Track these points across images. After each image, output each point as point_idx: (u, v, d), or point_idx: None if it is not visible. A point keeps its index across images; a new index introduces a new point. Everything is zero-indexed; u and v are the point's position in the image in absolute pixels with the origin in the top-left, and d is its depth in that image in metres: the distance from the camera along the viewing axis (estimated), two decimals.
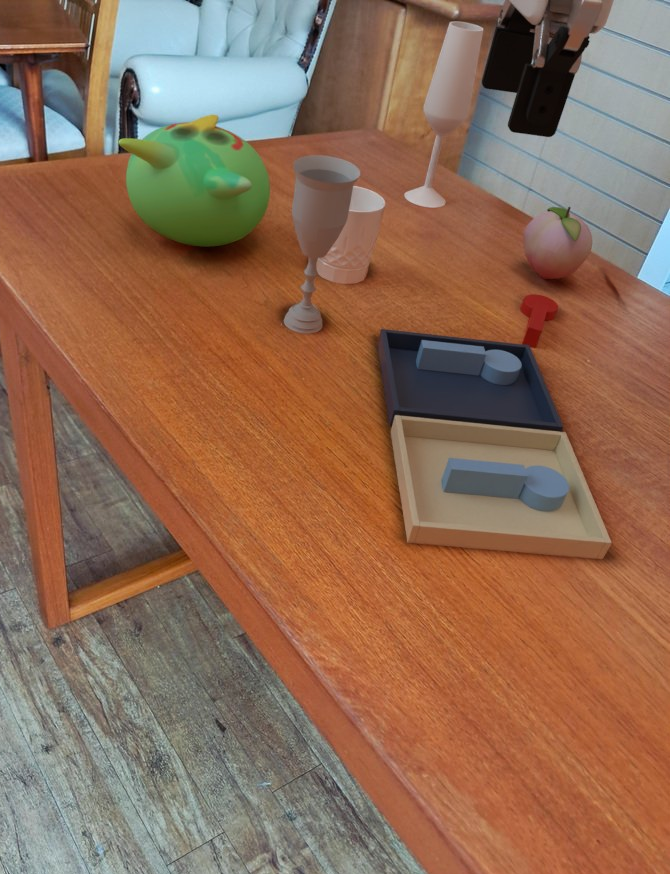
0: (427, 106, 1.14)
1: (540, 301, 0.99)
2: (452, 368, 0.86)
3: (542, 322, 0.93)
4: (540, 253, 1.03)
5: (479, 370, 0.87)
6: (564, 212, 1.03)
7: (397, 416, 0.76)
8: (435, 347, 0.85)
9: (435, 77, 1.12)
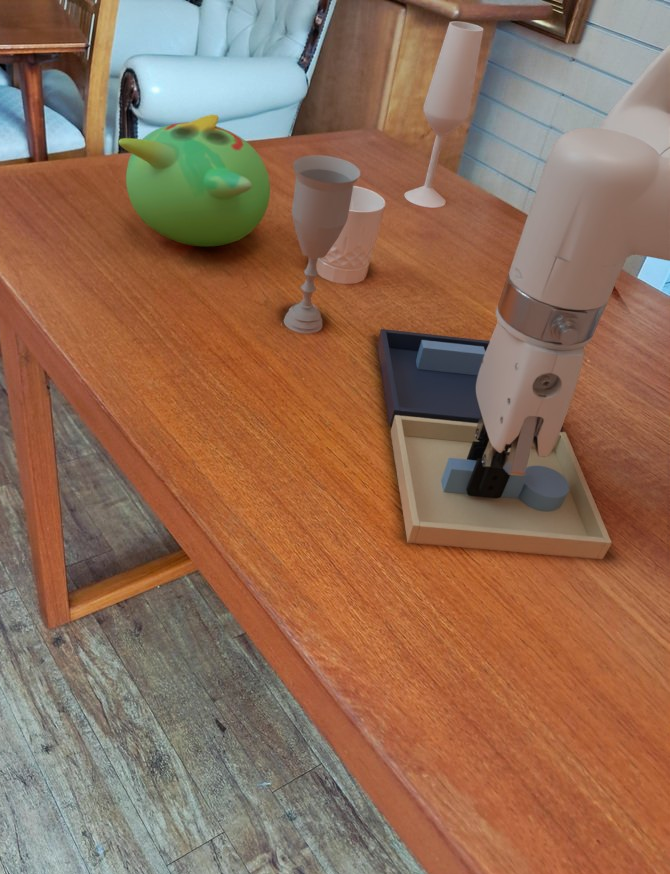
0: (427, 106, 1.14)
1: None
2: (452, 368, 0.86)
3: None
4: None
5: None
6: None
7: (397, 416, 0.76)
8: (435, 347, 0.85)
9: (435, 77, 1.12)
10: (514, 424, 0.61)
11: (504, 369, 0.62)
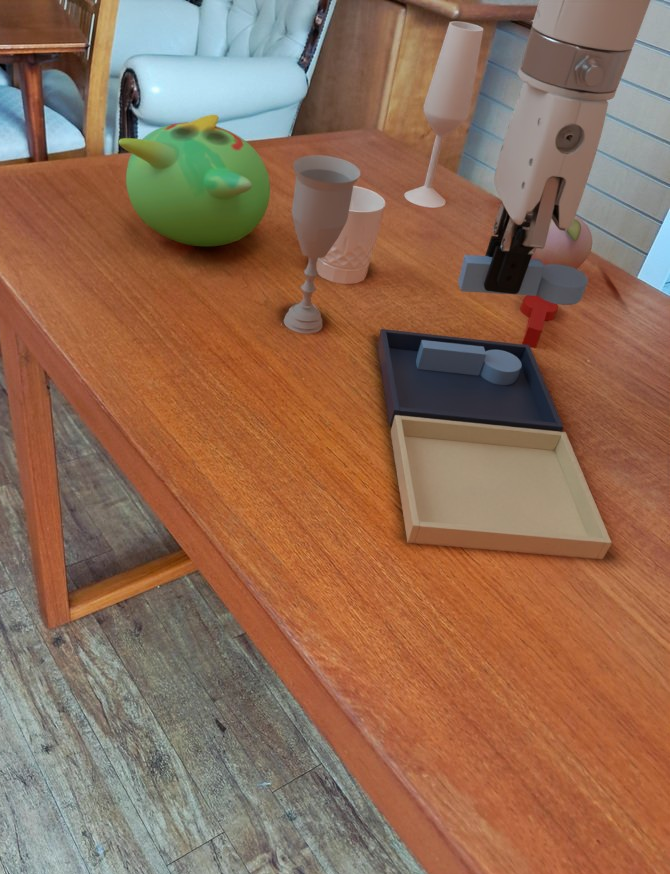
0: (427, 106, 1.14)
1: (540, 301, 0.99)
2: (452, 368, 0.86)
3: (542, 322, 0.93)
4: (540, 253, 1.03)
5: (479, 370, 0.87)
6: None
7: (397, 416, 0.76)
8: (435, 347, 0.85)
9: (435, 77, 1.12)
10: (536, 186, 0.61)
11: (526, 132, 0.61)
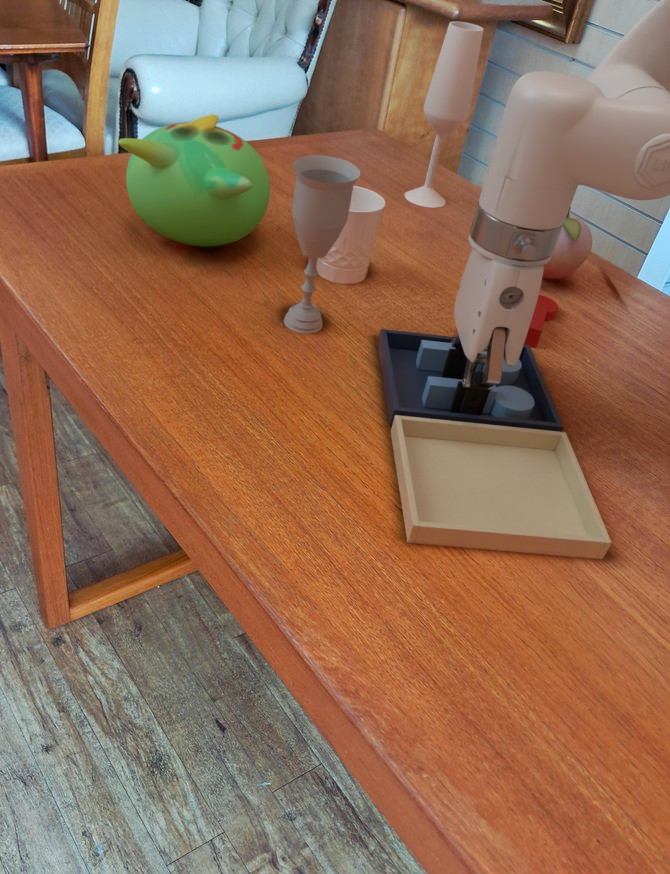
0: (427, 106, 1.14)
1: (540, 301, 0.99)
2: None
3: (542, 322, 0.93)
4: None
5: (479, 370, 0.87)
6: None
7: (397, 416, 0.76)
8: (435, 347, 0.85)
9: (435, 77, 1.12)
10: (484, 334, 0.71)
11: (476, 287, 0.71)
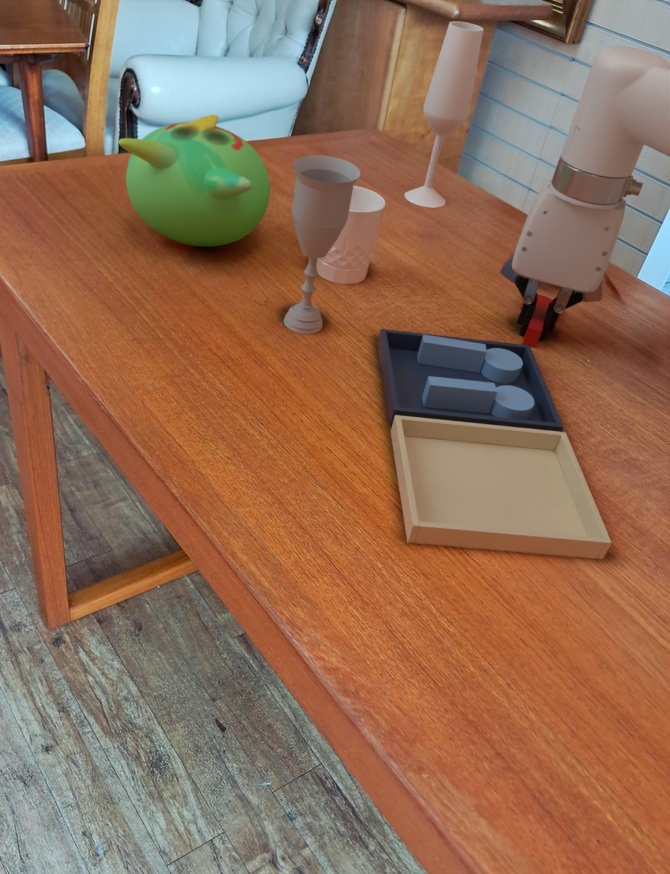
0: (427, 106, 1.14)
1: (540, 301, 0.99)
2: (452, 364, 0.87)
3: (542, 322, 0.93)
4: None
5: (479, 367, 0.87)
6: None
7: (397, 416, 0.76)
8: (435, 342, 0.86)
9: (435, 77, 1.12)
10: (607, 265, 0.87)
11: (587, 237, 0.85)
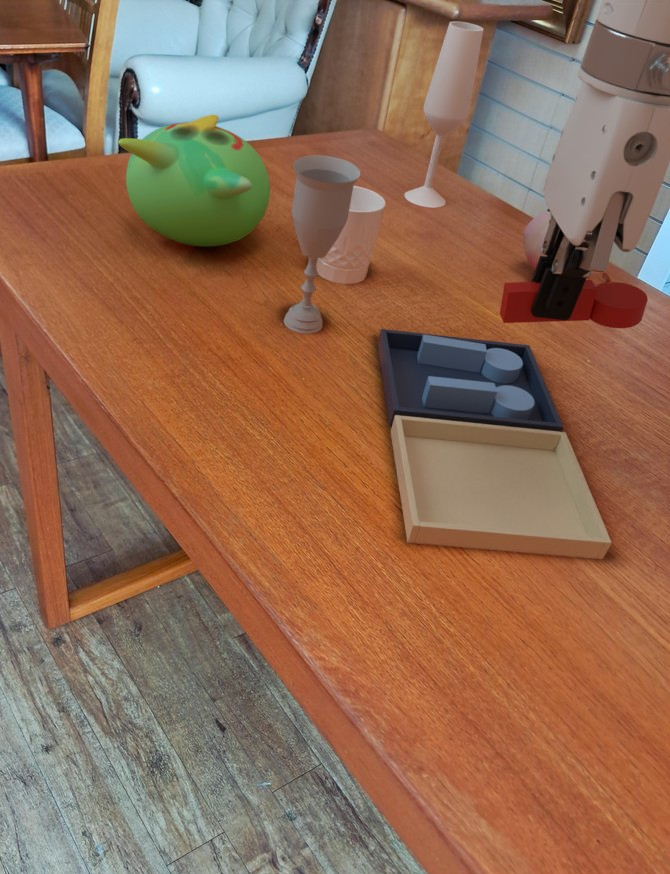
0: (427, 106, 1.14)
1: (622, 294, 0.64)
2: (452, 364, 0.87)
3: (534, 290, 0.63)
4: (540, 253, 1.03)
5: (479, 367, 0.87)
6: None
7: (397, 416, 0.76)
8: (435, 342, 0.86)
9: (435, 77, 1.12)
10: (598, 203, 0.54)
11: (587, 141, 0.54)
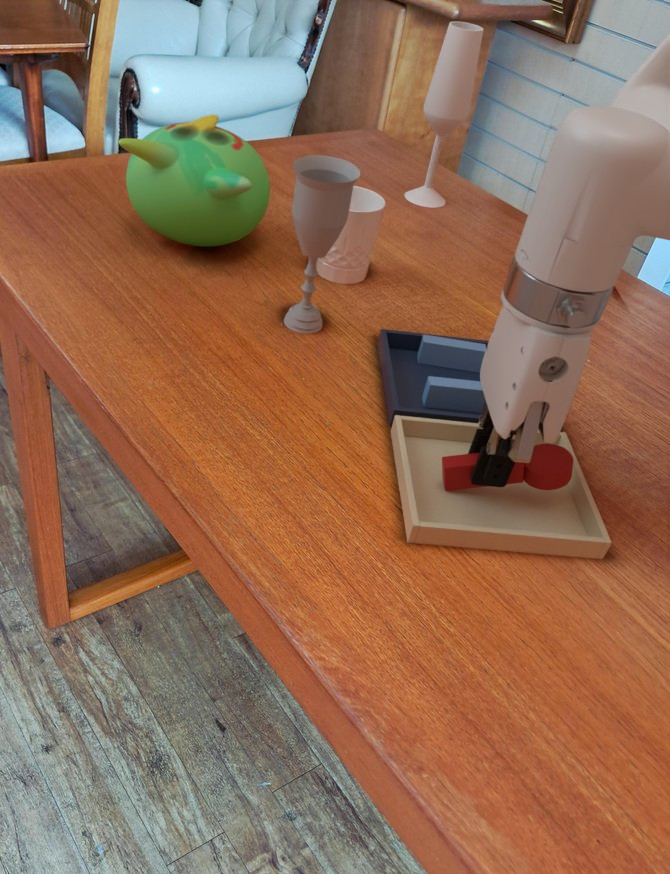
0: (427, 106, 1.14)
1: (550, 457, 0.70)
2: (452, 364, 0.87)
3: (467, 464, 0.70)
4: None
5: (479, 367, 0.87)
6: None
7: (397, 416, 0.76)
8: (435, 342, 0.86)
9: (435, 77, 1.12)
10: (519, 409, 0.60)
11: (509, 354, 0.61)
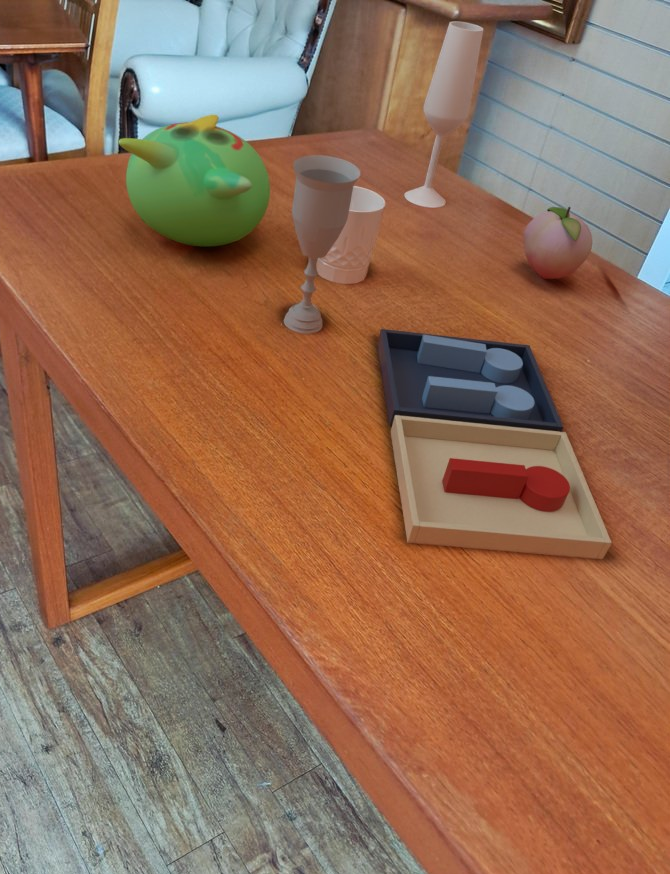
0: (427, 106, 1.14)
1: (549, 480, 0.72)
2: (452, 364, 0.87)
3: (474, 470, 0.70)
4: (540, 253, 1.03)
5: (479, 367, 0.87)
6: (564, 212, 1.03)
7: (397, 416, 0.76)
8: (435, 342, 0.86)
9: (435, 77, 1.12)
10: None
11: None
